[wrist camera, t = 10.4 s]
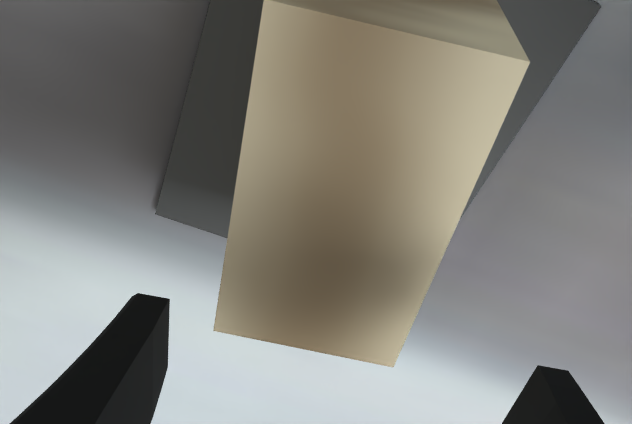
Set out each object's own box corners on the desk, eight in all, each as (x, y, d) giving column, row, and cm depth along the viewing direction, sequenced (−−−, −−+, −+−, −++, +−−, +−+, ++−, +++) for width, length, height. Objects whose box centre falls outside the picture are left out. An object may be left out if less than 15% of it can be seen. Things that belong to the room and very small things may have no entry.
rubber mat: (598, 3, 16) (601, 6, 16) (406, 292, 23) (407, 298, 23) (250, -149, 15) (248, -148, 15) (157, 209, 22) (155, 213, 21)
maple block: (483, -25, 16) (530, 62, 11) (389, 232, 21) (393, 367, 16) (299, -70, 15) (263, -2, 11) (251, 202, 21) (213, 330, 16)
